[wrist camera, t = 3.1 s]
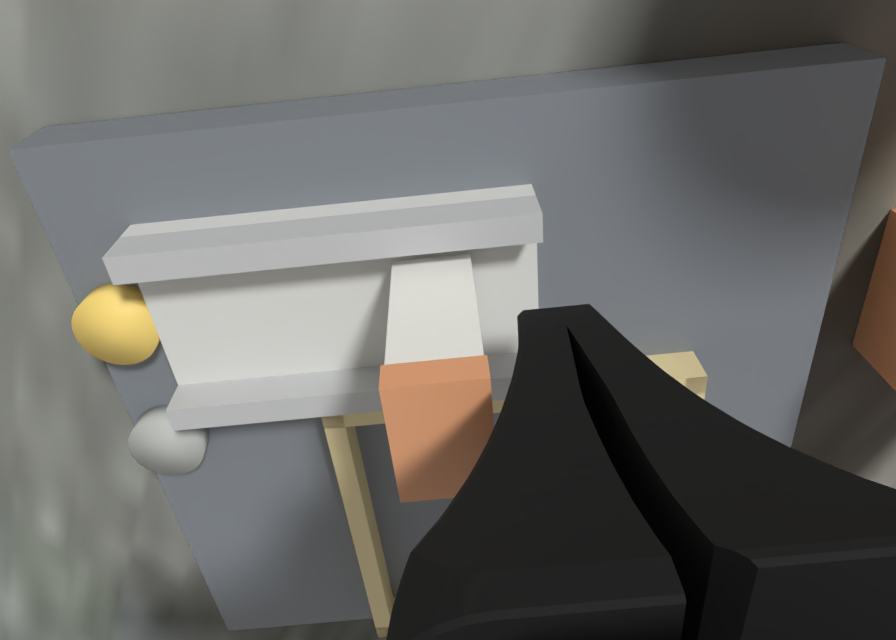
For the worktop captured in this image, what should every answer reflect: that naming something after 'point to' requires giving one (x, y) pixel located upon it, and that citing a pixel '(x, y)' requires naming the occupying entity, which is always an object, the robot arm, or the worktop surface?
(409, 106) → the panel
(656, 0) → the worktop surface
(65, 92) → the worktop surface
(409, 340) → the block
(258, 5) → the worktop surface
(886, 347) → the cap
